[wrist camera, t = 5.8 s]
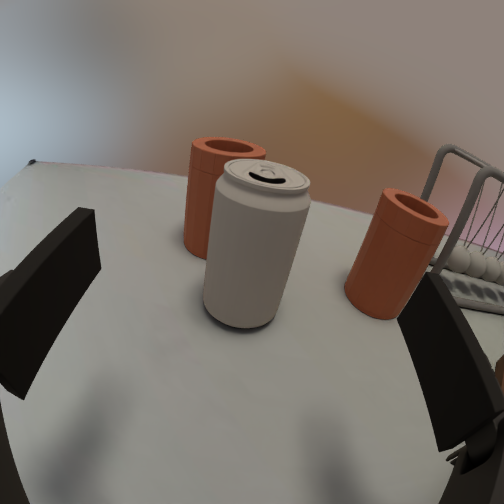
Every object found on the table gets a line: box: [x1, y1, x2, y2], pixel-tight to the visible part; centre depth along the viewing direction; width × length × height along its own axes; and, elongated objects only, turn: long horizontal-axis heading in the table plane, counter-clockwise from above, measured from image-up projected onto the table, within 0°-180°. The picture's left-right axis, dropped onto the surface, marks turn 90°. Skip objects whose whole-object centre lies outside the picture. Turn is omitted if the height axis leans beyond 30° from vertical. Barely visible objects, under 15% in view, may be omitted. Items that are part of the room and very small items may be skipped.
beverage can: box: [203, 159, 311, 328], centre depth 21 cm, size 6×6×12 cm
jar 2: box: [345, 188, 449, 319], centre depth 26 cm, size 7×7×11 cm
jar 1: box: [184, 137, 266, 260], centre depth 29 cm, size 7×7×11 cm
